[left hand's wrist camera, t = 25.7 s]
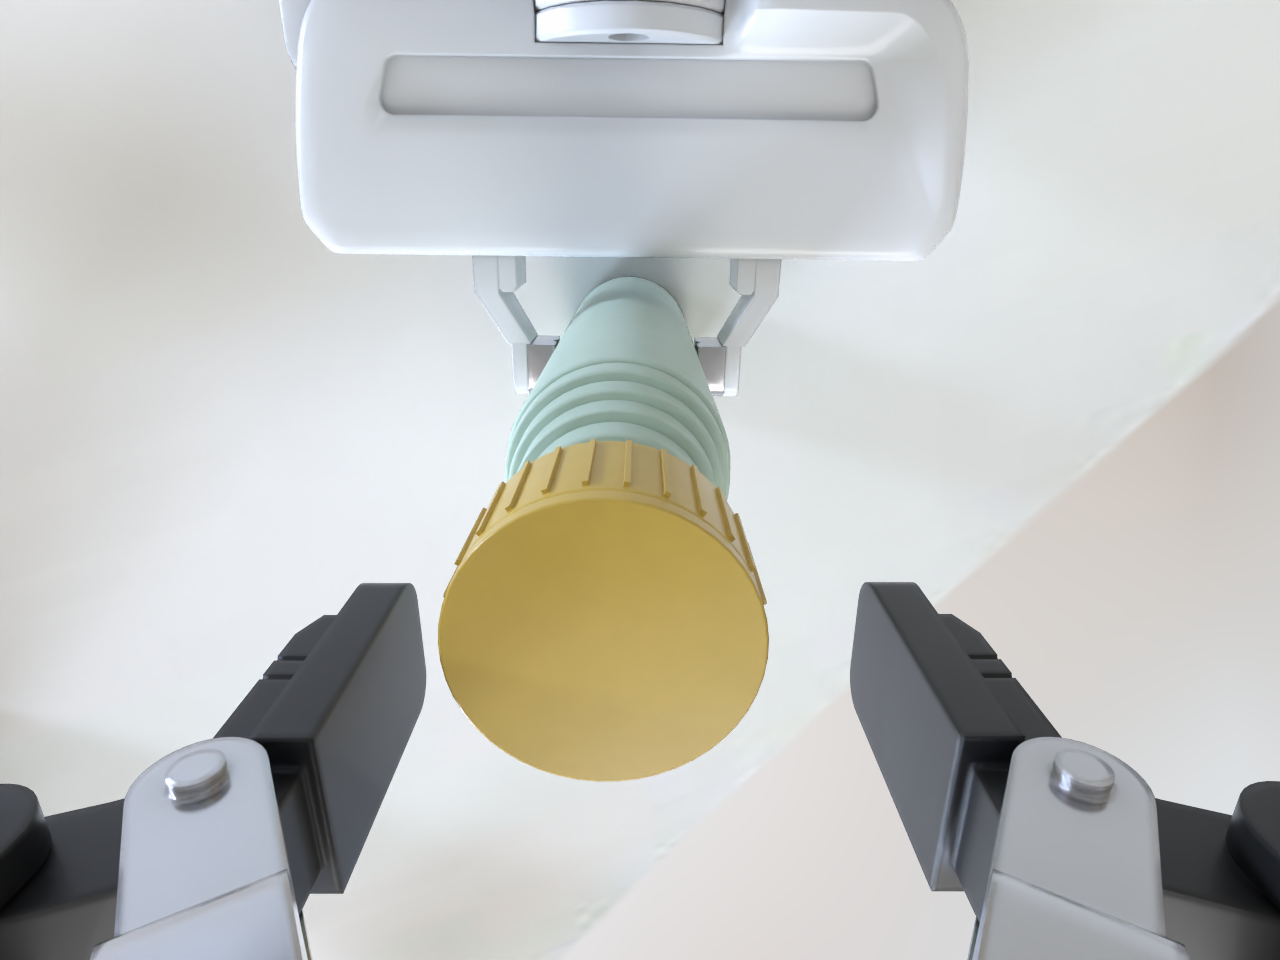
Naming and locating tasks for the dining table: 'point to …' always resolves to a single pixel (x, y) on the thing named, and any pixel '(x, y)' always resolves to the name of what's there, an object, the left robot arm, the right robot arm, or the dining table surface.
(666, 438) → the bottle
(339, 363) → the dining table surface
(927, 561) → the dining table surface
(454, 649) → the cap
